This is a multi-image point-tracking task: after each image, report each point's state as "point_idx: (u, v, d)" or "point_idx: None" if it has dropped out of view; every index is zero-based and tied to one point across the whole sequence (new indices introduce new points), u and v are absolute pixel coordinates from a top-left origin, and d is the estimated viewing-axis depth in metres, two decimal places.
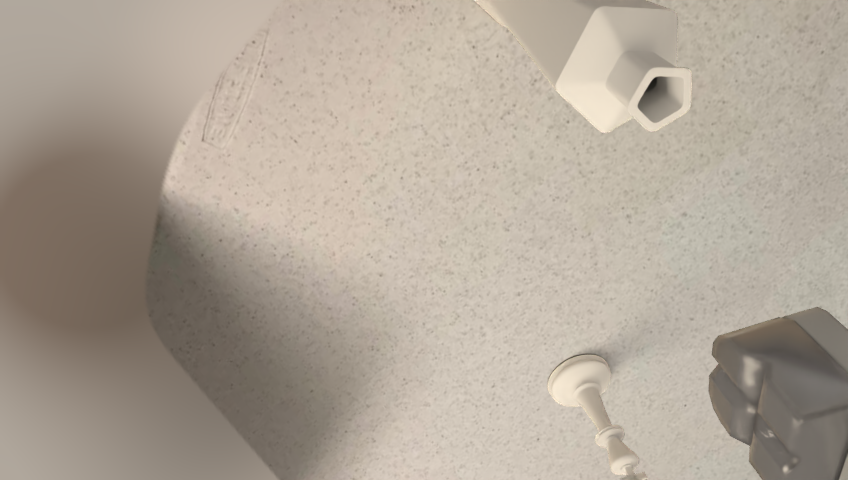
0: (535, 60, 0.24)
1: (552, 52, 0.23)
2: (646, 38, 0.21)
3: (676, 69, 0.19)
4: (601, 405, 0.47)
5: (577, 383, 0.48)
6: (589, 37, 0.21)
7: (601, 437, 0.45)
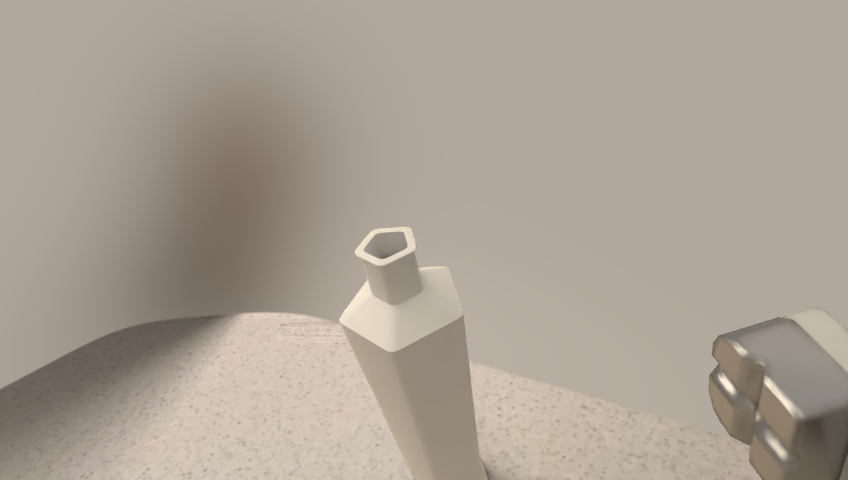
0: None
1: None
2: (432, 287, 0.23)
3: (413, 241, 0.22)
4: None
5: None
6: (422, 268, 0.25)
7: None
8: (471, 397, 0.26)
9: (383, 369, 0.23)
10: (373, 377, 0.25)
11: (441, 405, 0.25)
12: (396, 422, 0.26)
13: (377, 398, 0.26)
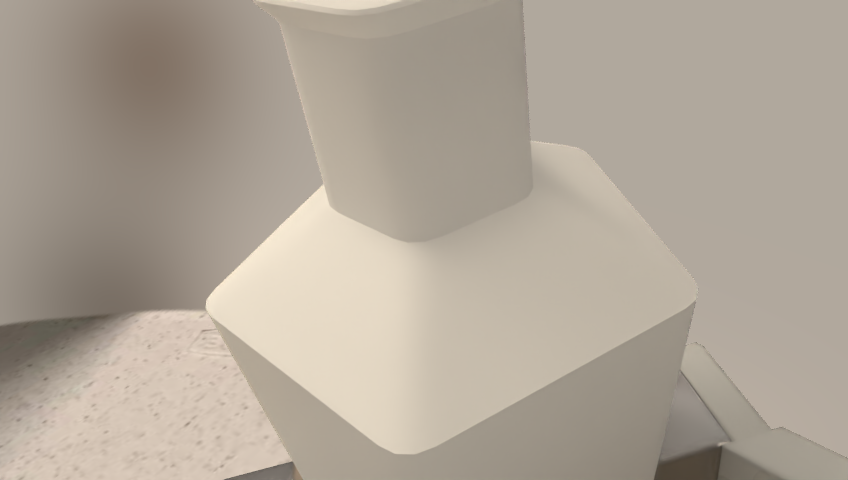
0: None
1: None
2: (564, 187, 0.06)
3: None
4: None
5: None
6: None
7: None
8: None
9: None
10: None
11: None
12: None
13: None
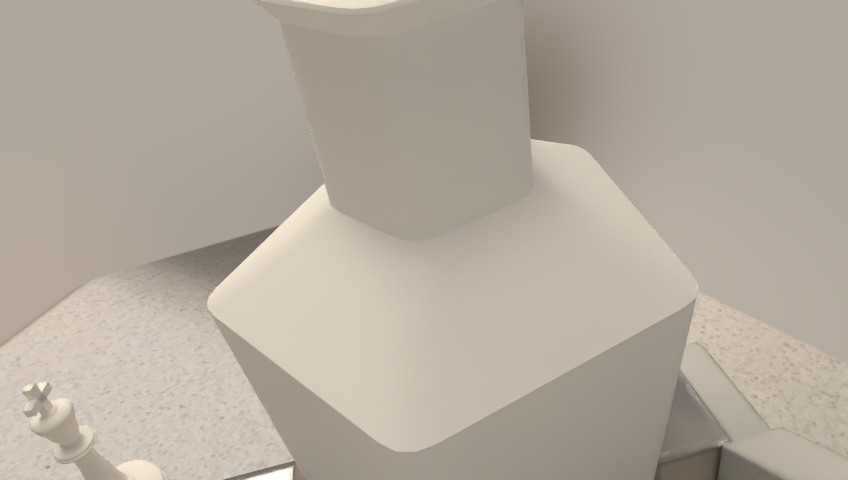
0: None
1: None
2: (564, 186, 0.06)
3: None
4: (103, 474, 0.34)
5: None
6: None
7: (87, 428, 0.33)
8: None
9: None
10: None
11: None
12: None
13: None
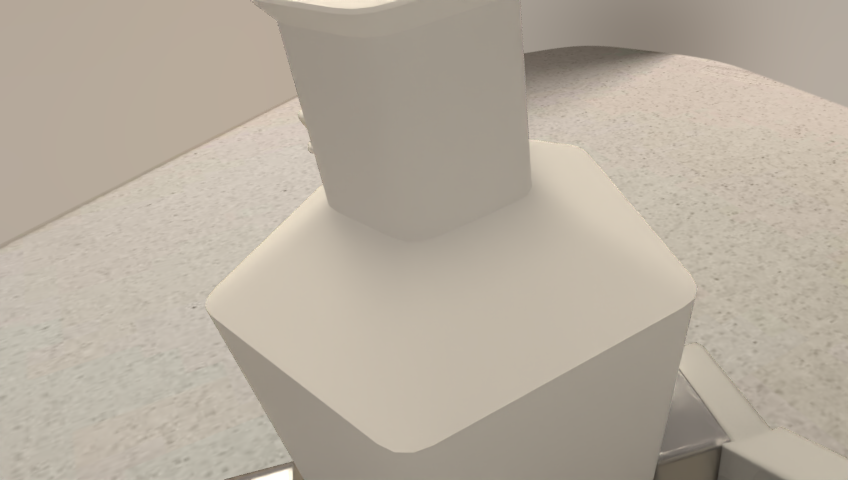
0: None
1: None
2: (563, 186, 0.06)
3: None
4: None
5: None
6: None
7: None
8: None
9: None
10: None
11: None
12: None
13: None
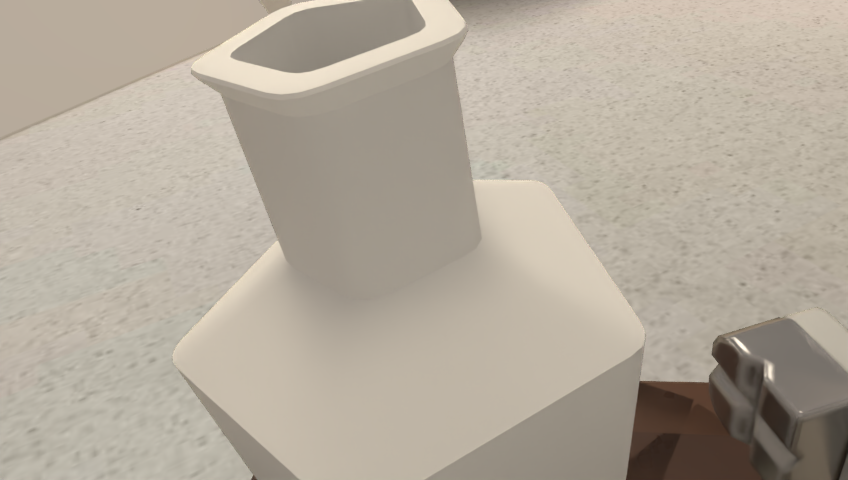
0: None
1: None
2: (516, 234, 0.06)
3: (450, 12, 0.05)
4: None
5: None
6: None
7: None
8: None
9: None
10: None
11: None
12: None
13: None
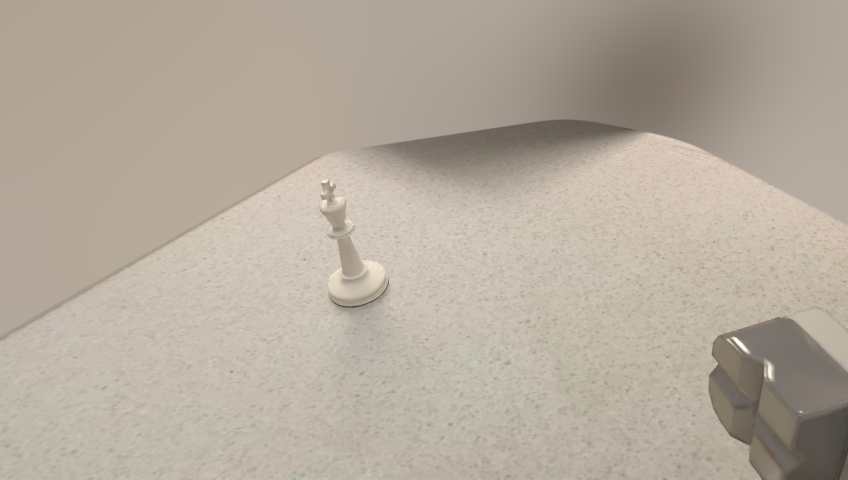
0: None
1: None
2: None
3: None
4: (352, 256, 0.50)
5: (367, 269, 0.52)
6: None
7: (348, 221, 0.50)
8: None
9: None
10: None
11: None
12: None
13: None
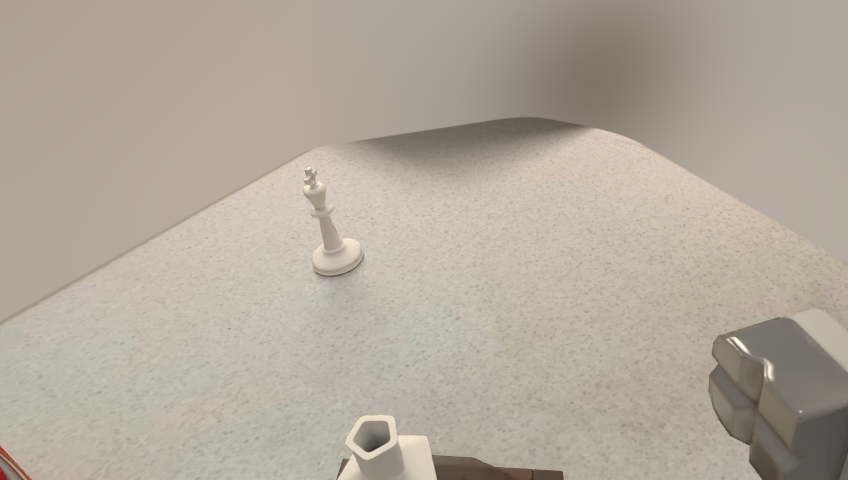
0: None
1: None
2: (413, 464, 0.27)
3: (395, 433, 0.26)
4: (332, 232, 0.59)
5: (345, 244, 0.61)
6: (405, 437, 0.29)
7: (328, 203, 0.59)
8: None
9: None
10: None
11: None
12: None
13: None
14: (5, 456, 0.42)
